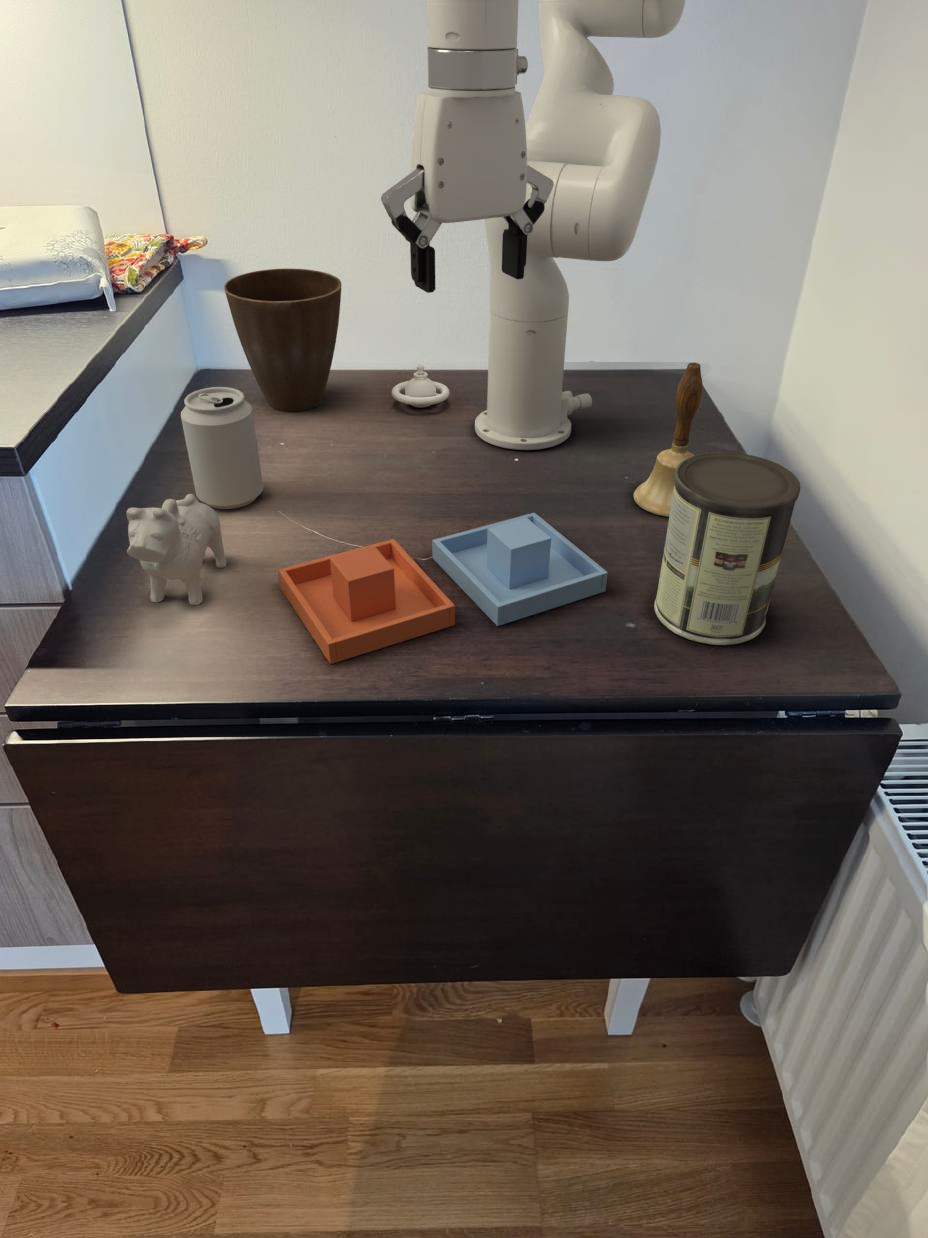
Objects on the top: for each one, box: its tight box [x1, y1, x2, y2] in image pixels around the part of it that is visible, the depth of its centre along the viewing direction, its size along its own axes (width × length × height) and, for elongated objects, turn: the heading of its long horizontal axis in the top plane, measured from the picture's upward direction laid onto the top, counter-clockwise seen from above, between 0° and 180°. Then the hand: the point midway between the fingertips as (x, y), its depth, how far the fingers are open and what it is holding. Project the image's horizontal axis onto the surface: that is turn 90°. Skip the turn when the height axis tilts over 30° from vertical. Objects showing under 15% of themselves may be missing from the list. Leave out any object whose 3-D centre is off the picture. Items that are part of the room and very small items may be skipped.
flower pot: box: [223, 268, 343, 412], centre depth 117 cm, size 15×15×16 cm
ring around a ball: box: [391, 364, 451, 408], centre depth 120 cm, size 8×6×8 cm
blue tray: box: [431, 512, 609, 627], centre depth 86 cm, size 12×13×2 cm
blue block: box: [487, 518, 551, 589], centre depth 85 cm, size 4×4×4 cm
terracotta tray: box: [277, 538, 456, 665], centre depth 82 cm, size 12×13×2 cm
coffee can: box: [653, 451, 801, 646], centre depth 78 cm, size 10×10×14 cm
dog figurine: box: [126, 493, 227, 606], centre depth 81 cm, size 5×13×11 cm, turn 173°
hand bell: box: [633, 362, 704, 518], centre depth 95 cm, size 8×8×16 cm
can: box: [180, 386, 264, 510], centre depth 96 cm, size 8×8×12 cm
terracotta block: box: [330, 546, 396, 622], centre depth 81 cm, size 4×4×4 cm
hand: (469, 282), depth 84 cm, fingers open, 9 cm apart
